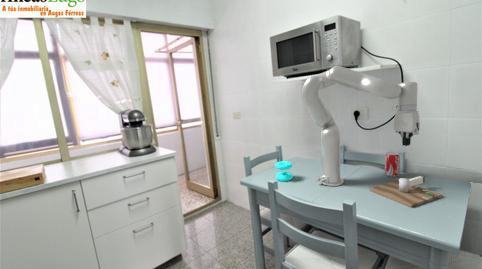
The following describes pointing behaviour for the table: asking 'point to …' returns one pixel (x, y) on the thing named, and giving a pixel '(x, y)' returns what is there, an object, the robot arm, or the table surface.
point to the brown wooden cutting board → (406, 194)
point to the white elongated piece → (410, 183)
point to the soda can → (392, 164)
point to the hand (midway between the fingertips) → (406, 145)
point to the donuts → (284, 175)
